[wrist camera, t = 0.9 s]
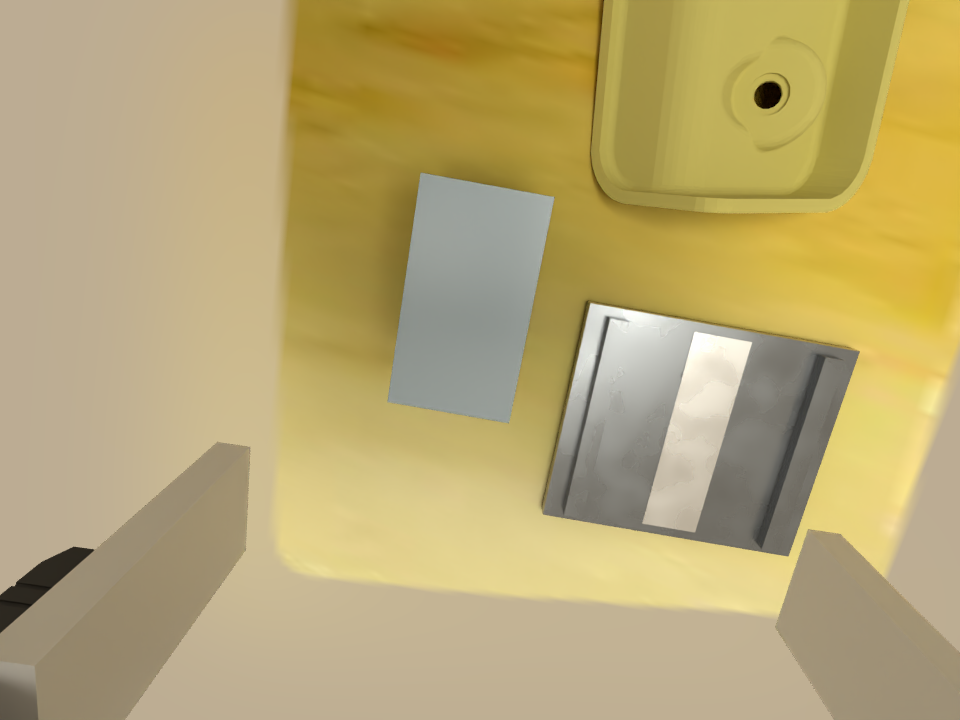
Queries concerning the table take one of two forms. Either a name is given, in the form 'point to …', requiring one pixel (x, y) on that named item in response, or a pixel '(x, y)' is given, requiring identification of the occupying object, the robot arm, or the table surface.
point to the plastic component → (741, 101)
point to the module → (468, 296)
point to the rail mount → (694, 428)
